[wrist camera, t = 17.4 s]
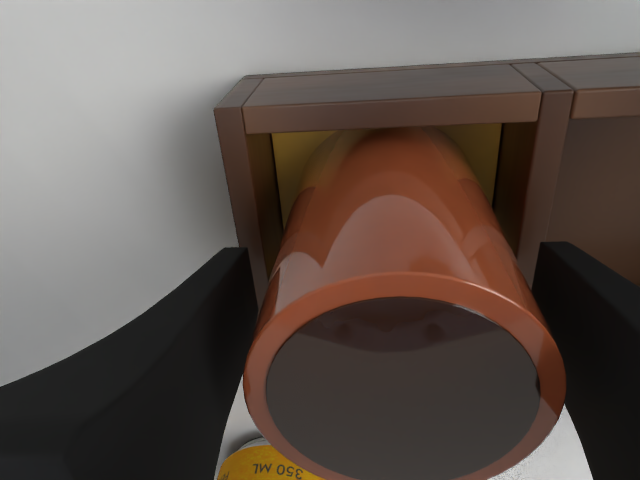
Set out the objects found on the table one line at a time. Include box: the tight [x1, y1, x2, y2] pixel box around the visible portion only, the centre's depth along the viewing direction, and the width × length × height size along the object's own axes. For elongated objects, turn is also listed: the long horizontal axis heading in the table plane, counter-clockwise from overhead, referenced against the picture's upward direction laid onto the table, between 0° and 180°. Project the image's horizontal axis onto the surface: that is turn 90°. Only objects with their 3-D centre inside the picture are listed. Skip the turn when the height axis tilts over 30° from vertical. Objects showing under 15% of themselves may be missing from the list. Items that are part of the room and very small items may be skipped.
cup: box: [243, 126, 567, 480], centre depth 12 cm, size 6×6×8 cm
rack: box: [213, 53, 640, 320], centre depth 14 cm, size 16×8×4 cm, turn 94°
